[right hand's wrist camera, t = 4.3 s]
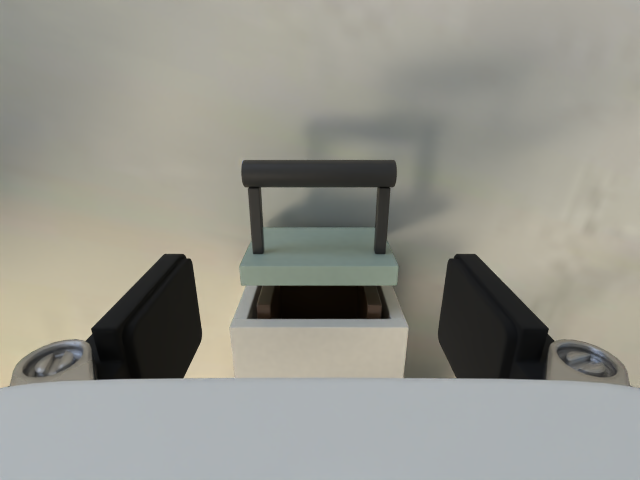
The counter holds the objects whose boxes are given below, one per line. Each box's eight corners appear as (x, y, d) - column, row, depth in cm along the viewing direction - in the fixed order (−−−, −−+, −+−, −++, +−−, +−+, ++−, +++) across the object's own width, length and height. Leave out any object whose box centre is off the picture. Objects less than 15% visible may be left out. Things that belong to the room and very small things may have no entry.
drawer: (252, 149, 23) (230, 166, 17) (386, 149, 23) (407, 166, 17) (267, 373, 30) (254, 439, 24) (371, 373, 30) (383, 439, 24)
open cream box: (253, 264, 27) (229, 327, 20) (384, 264, 27) (409, 327, 20) (264, 405, 32) (247, 498, 25) (374, 405, 32) (391, 498, 25)
